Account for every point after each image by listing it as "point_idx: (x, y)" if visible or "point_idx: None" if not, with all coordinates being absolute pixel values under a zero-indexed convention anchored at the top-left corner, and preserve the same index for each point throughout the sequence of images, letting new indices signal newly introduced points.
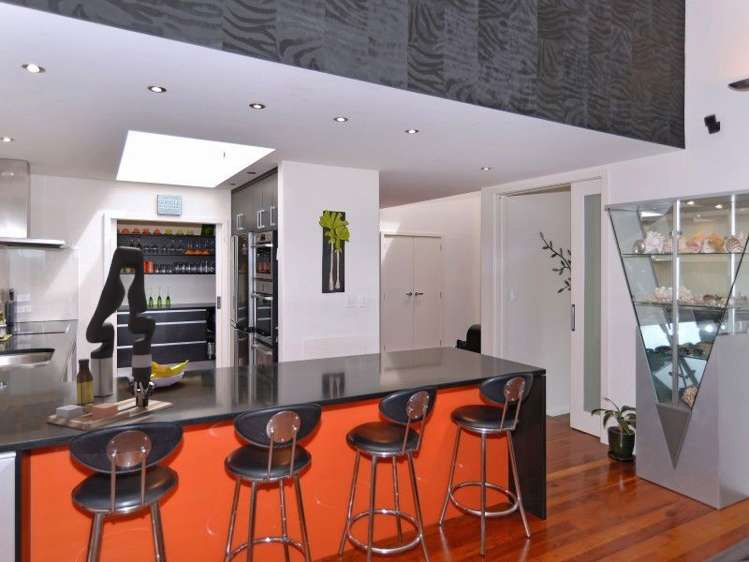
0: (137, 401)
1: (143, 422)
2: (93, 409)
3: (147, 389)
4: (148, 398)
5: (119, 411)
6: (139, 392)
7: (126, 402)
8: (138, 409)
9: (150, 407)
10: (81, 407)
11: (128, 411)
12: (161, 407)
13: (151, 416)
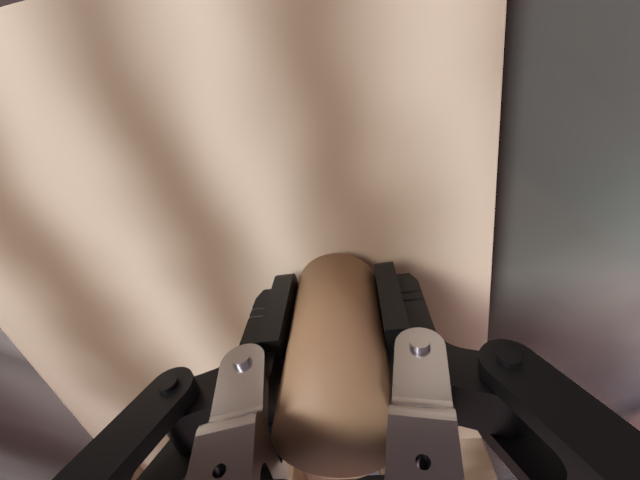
0: None
1: (627, 415)
2: None
3: (431, 466)
4: (435, 331)
5: (380, 472)
6: (315, 463)
7: (19, 255)
8: None
9: (400, 227)
10: None
11: None
12: (495, 133)
13: (578, 321)
